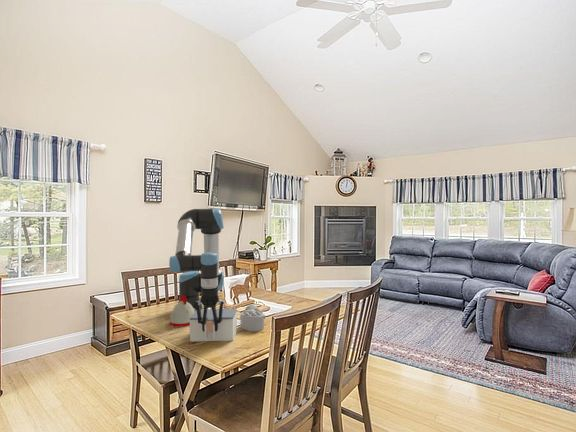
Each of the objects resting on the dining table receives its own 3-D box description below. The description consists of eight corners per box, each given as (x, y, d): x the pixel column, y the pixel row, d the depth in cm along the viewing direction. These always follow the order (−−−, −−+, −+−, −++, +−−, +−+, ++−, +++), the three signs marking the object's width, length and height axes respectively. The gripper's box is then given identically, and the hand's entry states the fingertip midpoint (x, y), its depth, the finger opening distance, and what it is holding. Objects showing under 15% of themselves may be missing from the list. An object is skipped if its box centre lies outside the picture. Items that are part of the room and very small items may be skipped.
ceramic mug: (250, 322, 187) (250, 308, 187) (244, 318, 194) (244, 305, 194) (268, 319, 192) (268, 306, 192) (261, 316, 199) (261, 302, 199)
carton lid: (197, 320, 175) (197, 309, 175) (236, 319, 175) (236, 308, 175) (187, 332, 157) (187, 320, 157) (231, 332, 157) (231, 319, 157)
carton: (197, 330, 175) (197, 311, 175) (237, 330, 176) (236, 310, 175) (190, 341, 161) (189, 320, 161) (233, 340, 162) (232, 319, 161)
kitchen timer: (175, 328, 179) (175, 299, 179) (166, 322, 190) (165, 295, 190) (200, 322, 188) (200, 295, 188) (190, 317, 199) (189, 291, 198)
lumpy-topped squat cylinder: (254, 322, 188) (254, 306, 188) (268, 328, 178) (268, 311, 178) (238, 326, 181) (237, 310, 181) (252, 333, 171) (252, 315, 171)
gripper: (189, 289, 154) (190, 341, 154) (225, 288, 154) (226, 340, 155) (193, 285, 162) (194, 335, 162) (228, 284, 162) (229, 334, 162)
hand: (210, 337), depth 158 cm, fingers closed on carton lid, 3 cm apart
